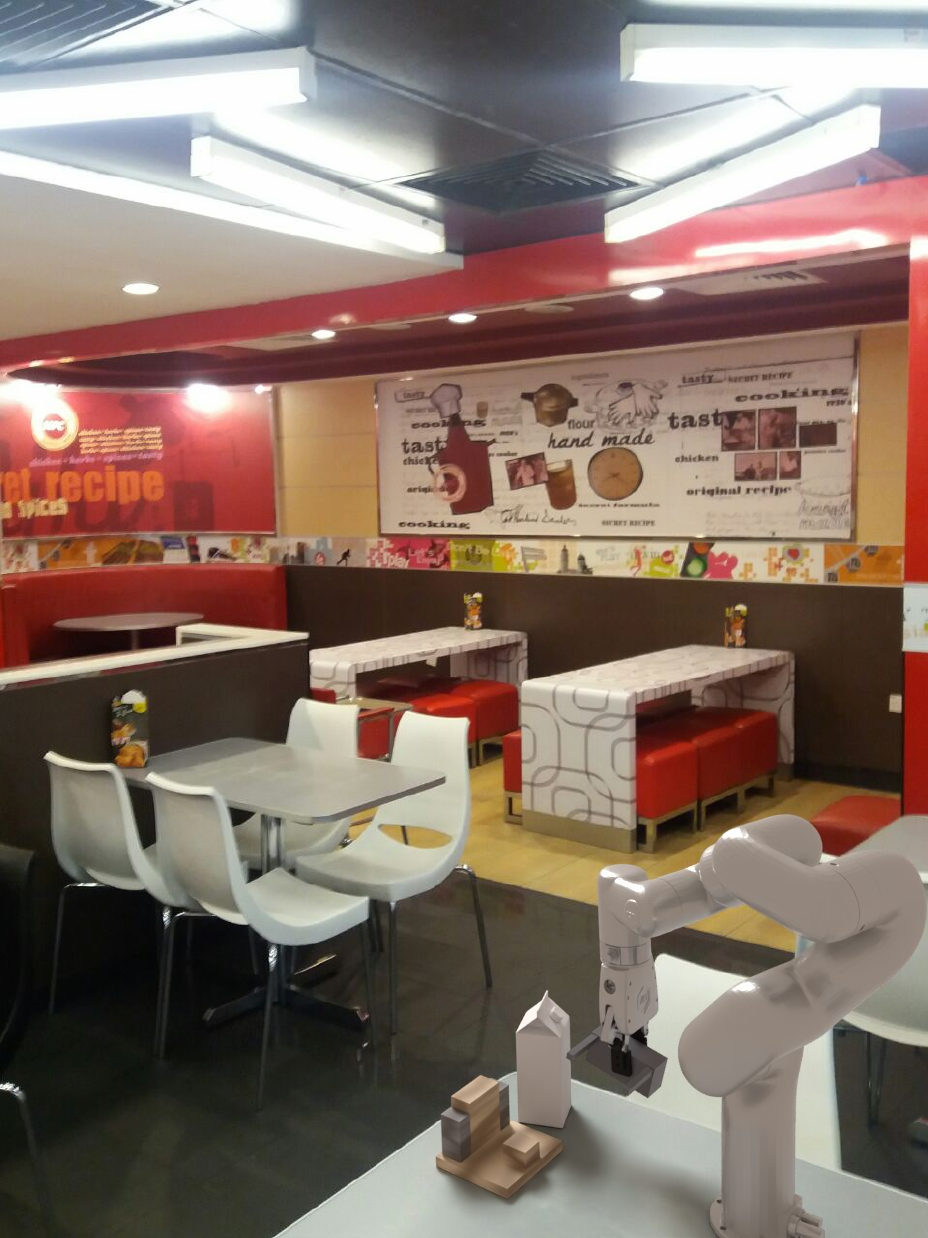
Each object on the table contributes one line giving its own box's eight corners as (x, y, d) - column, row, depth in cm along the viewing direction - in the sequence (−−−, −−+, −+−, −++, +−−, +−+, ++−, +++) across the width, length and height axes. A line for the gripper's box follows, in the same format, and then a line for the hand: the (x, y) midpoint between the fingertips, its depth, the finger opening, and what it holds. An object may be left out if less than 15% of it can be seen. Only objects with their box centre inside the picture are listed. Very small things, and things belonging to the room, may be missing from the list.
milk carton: (517, 1123, 176) (514, 1008, 174) (528, 1099, 183) (525, 988, 180) (562, 1129, 174) (560, 1013, 171) (571, 1104, 181) (569, 992, 178)
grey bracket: (599, 1049, 174) (605, 1021, 173) (660, 1086, 168) (667, 1058, 167) (560, 1080, 166) (566, 1051, 164) (623, 1120, 159) (630, 1090, 158)
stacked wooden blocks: (562, 1150, 169) (561, 1090, 167) (507, 1199, 158) (505, 1136, 157) (492, 1121, 177) (491, 1064, 175) (436, 1166, 166) (433, 1105, 165)
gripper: (618, 975, 158) (623, 1099, 160) (674, 936, 171) (678, 1051, 173) (573, 964, 163) (578, 1084, 165) (631, 926, 176) (635, 1038, 178)
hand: (629, 1066), depth 169 cm, fingers closed on grey bracket, 4 cm apart
